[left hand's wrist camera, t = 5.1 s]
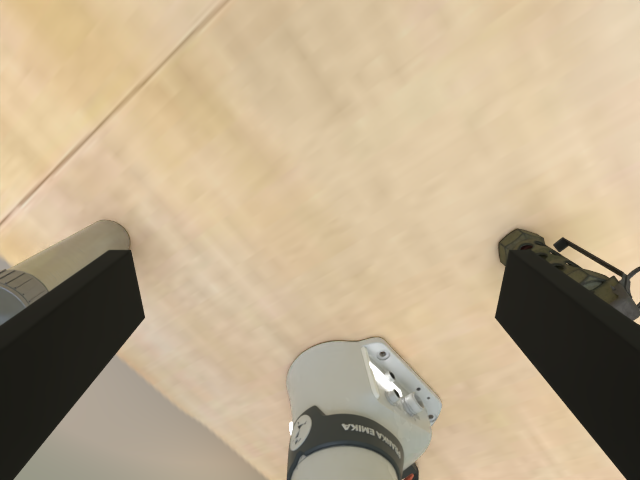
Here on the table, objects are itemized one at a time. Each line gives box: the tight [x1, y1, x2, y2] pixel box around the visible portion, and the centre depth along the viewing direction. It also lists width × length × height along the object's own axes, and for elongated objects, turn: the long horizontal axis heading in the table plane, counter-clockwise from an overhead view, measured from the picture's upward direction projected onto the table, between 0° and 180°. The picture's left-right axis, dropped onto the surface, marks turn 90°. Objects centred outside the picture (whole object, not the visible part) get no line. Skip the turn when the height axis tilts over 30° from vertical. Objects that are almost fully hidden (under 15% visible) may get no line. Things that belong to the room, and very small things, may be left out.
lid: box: [0, 269, 48, 325], centre depth 28 cm, size 5×5×2 cm
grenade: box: [499, 229, 640, 321], centre depth 35 cm, size 9×6×15 cm, turn 134°
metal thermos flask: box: [8, 220, 130, 292], centre depth 35 cm, size 5×5×16 cm
